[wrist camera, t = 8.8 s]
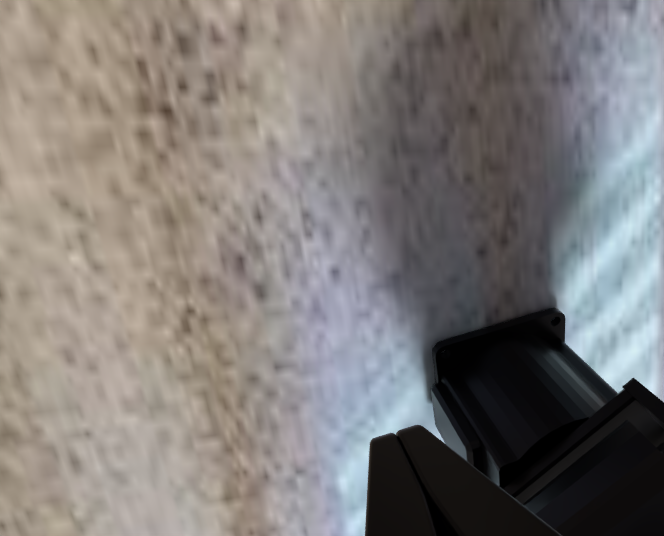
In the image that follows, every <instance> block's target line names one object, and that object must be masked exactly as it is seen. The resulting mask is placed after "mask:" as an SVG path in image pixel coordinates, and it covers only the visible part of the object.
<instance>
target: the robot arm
mask: <svg viewBox="0 0 664 536" xmlns="http://www.w3.org/2000/svg"><path fill="white" fill-rule="evenodd" d="M553 318H554V320H552V319H553ZM551 320H552V321H551ZM444 350H447V351H446V352H445V353H443V354H441V353H442V352H443V351H444ZM432 356H433V364H434V372H435V380H436V384H433V386H432V388H431V395H432V402H433V410H434V418H435V425H436V427H437V429H438V431H439V432H440V434H441V436H442V438H443V440H444V442H445V443H443V442H442V441H441V440H439V439H438V438H437V437H436V436H434V435H433V434H432V433H431V432H429V431H428V430H427V429H425V428H424V427H423V426H421V425H414V426H411V427H408V428H405V429H402V430H399V431H398V432H397V433H396V435H395V434H394V433H389V434H386V435H382V436H379V437H376V438H373V439H372V440H371V442H370V452H369V471H368V490H367V509H366V527H365V536H664V402H663V401H661V400H660V399H659V398H658V397H656V396H655V395H654V394H653V393H652V392H650V391H649V390H648V389H647V388H645V387H644V386H643V385H642V384H641V383H639V382H638V381H637V380H636V379H634V378H632V379H631V380H630V381H629V382H628V383H626V384H625V385H624V386H623V388H624V389H623V390H622V391H621V392H619V393H617V392H616V391H615V390H614V389H613V388H612V387H611V386H610V385H609V384H608V383H606V382H605V381H604V380H603V379H602V378H601V377H600V376H599V375H598V374H597V373H596V372H595V371H594V370H593V369H592V368H591V367H590V366H589V365H588V364H586V363H585V362H584V361H583V360H582V359H581V358H580V357H579V356H578V355H577V354H576V353H575V352H574V351H573V350H572V349H571V348H570V347H569V346H568V345H566V344H565V315H564V314H563V313H562V312H561V311H559V310H558V309H556V308H551V309H547V310H544V311H540V312H537V313H534V314H530V315H527V316H524V317H520V318H517V319H514V320H510V321H507V322H503V323H500V324H497V325H493V326H490V327H487V328H483V329H480V330H477V331H473V332H470V333H466V334H463V335H460V336H456V337H453V338H450V339H446V340H443V341H440V342H438V343H437V344H436V345H434V347H433V349H432Z"/></svg>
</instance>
